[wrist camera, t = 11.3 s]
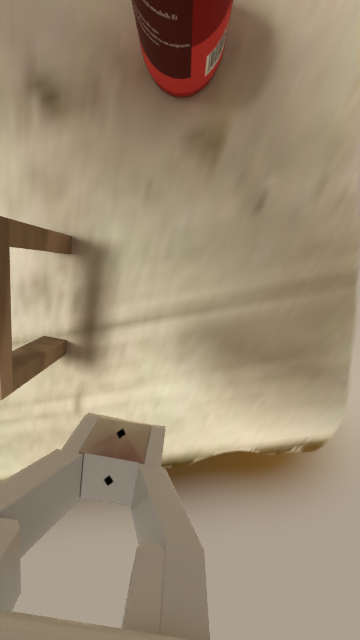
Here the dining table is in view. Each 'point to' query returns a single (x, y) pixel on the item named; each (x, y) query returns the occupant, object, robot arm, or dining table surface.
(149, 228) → the dining table surface
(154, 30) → the canned food
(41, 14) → the dining table surface
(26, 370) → the wooden staple shape
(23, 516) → the robot arm
